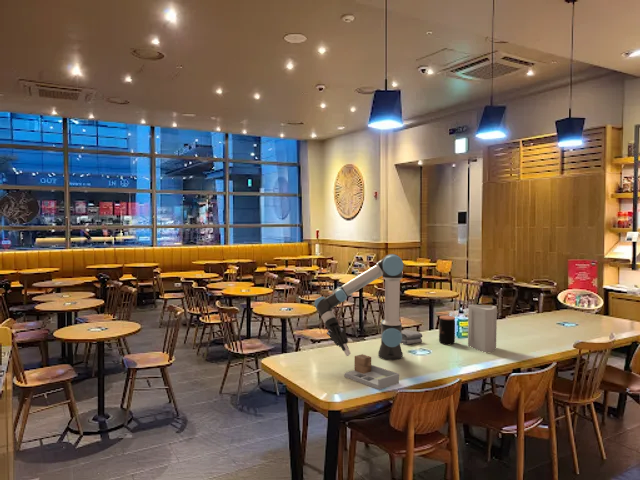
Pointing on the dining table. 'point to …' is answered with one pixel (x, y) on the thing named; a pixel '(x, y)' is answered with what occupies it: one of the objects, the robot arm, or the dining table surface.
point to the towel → (411, 337)
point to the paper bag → (482, 327)
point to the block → (362, 363)
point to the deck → (375, 377)
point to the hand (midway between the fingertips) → (348, 354)
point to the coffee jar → (447, 329)
